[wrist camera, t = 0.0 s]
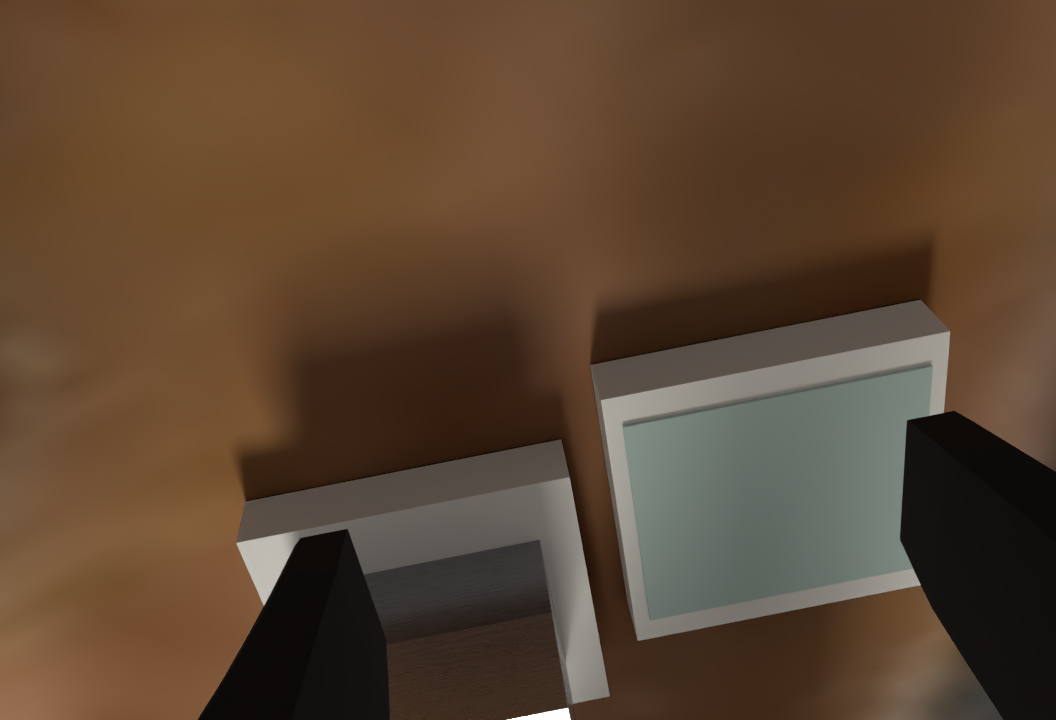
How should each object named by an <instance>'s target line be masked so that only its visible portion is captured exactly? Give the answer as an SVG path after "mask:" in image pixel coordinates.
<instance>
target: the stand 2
mask: <svg viewBox="0 0 1056 720" xmlns="http://www.w3.org/2000/svg"><path fill="white" fill-rule="evenodd" d="M949 342H950V330H949V329H948V328H947V327H946V326H945V325H944V324H943V323H942V322H941V321H940V320H939V319H938V318H937V317H936V316H935V314H934V313H933V312H932V311H931V310H930V309H929V308H928V307H927V306H926V305H925V304H924V303H923V302H922V301H921V300H917V301H912V302H907V303H902V304H897V305H892V306H887V307H882V308H876V309H871V310H866V311H861V312H856V313H851V314H846V315H841V316H836V317H831V318H826V319H821V320H816V321H811V322H806V323H800V324H795V325H790V326H785V327H780V328H775V329H770V330H765V331H760V332H755V333H750V334H745V335H740V336H735V337H730V338H724V339H719V340H714V341H709V342H704V343H699V344H694V345H689V346H684V347H679V348H674V349H669V350H664V351H659V352H654V353H648V354H643V355H638V356H633V357H628V358H623V359H618V360H613V361H608V362H603V363H598V364H593V365H590V366H591V373H592V379H593V386H594V392H595V398H596V405H597V411H598V418H599V424H600V430H601V437H602V443H603V450H604V456H605V462H606V469H607V475H608V482H609V488H610V494H611V501H612V507H613V514H614V520H615V526H616V533H617V539H618V546H619V552H620V558H621V565H622V571H623V578H624V584H625V590H626V597H627V602H628V606H629V610H630V614H631V617H632V621H633V625H634V629H635V633H636V637H637V641H641V640H646V639H651V638H656V637H661V636H666V635H671V634H676V633H681V632H686V631H691V630H696V629H701V628H706V627H711V626H717V625H722V624H727V623H732V622H737V621H742V620H747V619H752V618H757V617H762V616H767V615H772V614H777V613H782V612H787V611H792V610H798V609H803V608H808V607H813V606H818V605H823V604H828V603H833V602H838V601H843V600H848V599H853V598H858V597H863V596H868V595H873V594H879V593H884V592H889V591H894V590H899V589H904V588H909V587H914V586H919V585H921V584H920V582H919V580H918V578H917V576H916V574H915V572H914V569H913V567H912V565H911V563H910V561H909V558H908V556H907V554H906V552H905V550H904V547H903V545H902V543H901V541H900V527H901V510H902V493H903V477H904V460H905V443H906V427H907V420H910V419H915V418H920V417H926V416H931V415H936V414H941V413H944V404H945V392H946V379H947V367H948V354H949Z"/></svg>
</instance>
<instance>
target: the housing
mask: <svg viewBox="0 0 1056 720" xmlns="http://www.w3.org/2000/svg"><path fill="white" fill-rule="evenodd" d="M364 577H365V580H366V582H367V585H368V588H369V591H370V594H371V597H372V600H373V603H374V605H375V608H376V611H377V614H378V617H379V620H380V623H381V625H382V628H383V631H384V634H385V637H386V643H387V661H388V679H389V703H390V720H576V717H575V712H574V706H573V700H572V694H571V689H570V683H569V677H568V671H567V666H566V660H565V656H564V651H563V646H562V642H561V637H560V632H559V628H558V623H557V618H556V614H555V609H554V604H553V600H552V595H551V590H550V586H549V581H548V576H547V572H546V567H545V562H544V558H543V553H542V548H541V544H540V540H535V541H530V542H525V543H520V544H515V545H510V546H505V547H500V548H495V549H490V550H485V551H480V552H475V553H470V554H465V555H460V556H454V557H449V558H444V559H439V560H434V561H429V562H424V563H419V564H414V565H409V566H404V567H399V568H394V569H389V570H384V571H379V572H373V573H368V574H364Z"/></svg>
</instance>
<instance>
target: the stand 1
mask: <svg viewBox="0 0 1056 720" xmlns="http://www.w3.org/2000/svg"><path fill="white" fill-rule="evenodd" d="M344 529H348V531H349V534H350V537H351V540H352V542H353V545H354V548H355V551H356V554H357V557H358V560H359V562H360V565H361V568H362V571H363V574H368V573H373V572H379V571H384V570H389V569H394V568H399V567H404V566H409V565H414V564H419V563H424V562H429V561H434V560H439V559H444V558H449V557H454V556H460V555H465V554H470V553H475V552H480V551H485V550H490V549H495V548H500V547H505V546H510V545H515V544H520V543H525V542H530V541H535V540H540V544H541V548H542V553H543V558H544V562H545V567H546V572H547V576H548V581H549V586H550V590H551V595H552V600H553V604H554V609H555V614H556V618H557V623H558V628H559V632H560V637H561V642H562V646H563V651H564V656H565V660H566V666H567V671H568V677H569V683H570V689H571V694H572V700H573V704H574V703H579V702H584V701H589V700H594V699H600V698H605V697H610V694H609V689H608V683H607V678H606V673H605V667H604V662H603V656H602V651H601V645H600V640H599V634H598V629H597V623H596V618H595V613H594V607H593V602H592V596H591V591H590V585H589V580H588V574H587V569H586V564H585V558H584V553H583V547H582V542H581V536H580V531H579V525H578V520H577V514H576V509H575V504H574V498H573V493H572V487H571V482H570V476H569V472H568V468H567V463H566V459H565V454H564V450H563V445H562V441H561V439H560V440H555V441H550V442H545V443H540V444H535V445H530V446H525V447H520V448H515V449H510V450H505V451H500V452H494V453H489V454H484V455H479V456H474V457H469V458H464V459H459V460H454V461H449V462H444V463H439V464H434V465H429V466H424V467H418V468H413V469H408V470H403V471H398V472H393V473H388V474H383V475H378V476H373V477H368V478H363V479H358V480H353V481H348V482H343V483H337V484H332V485H327V486H322V487H317V488H312V489H307V490H302V491H297V492H292V493H287V494H282V495H277V496H272V497H267V498H261V499H256V500H251V501H246V502H245V505H244V509H243V514H242V518H241V523H240V528H239V532H238V537H237V541H236V544H237V546H238V548H239V551H240V553H241V555H242V557H243V560H244V562H245V564H246V566H247V569H248V571H249V573H250V575H251V578H252V580H253V582H254V584H255V587H256V589H257V591H258V593H259V596H260V598H261V600H262V602H263V605H265V603H266V601H267V599H268V597H269V595H270V594H271V592H272V590H273V588H274V586H275V584H276V582H277V580H278V578H279V576H280V574H281V572H282V570H283V568H284V566H285V564H286V562H287V560H288V558H289V556H290V554H291V552H292V550H293V548H294V546H295V545H296V543H297V542H298V541H299V539H300V538H303V537H308V536H313V535H318V534H323V533H328V532H334V531H339V530H344Z"/></svg>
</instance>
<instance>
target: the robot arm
mask: <svg viewBox="0 0 1056 720" xmlns="http://www.w3.org/2000/svg"><path fill="white" fill-rule="evenodd" d="M900 541H901V543H902V545H903V547H904V550H905V552H906V554H907V556H908V558H909V561H910V563H911V565H912V567H913V569H914V572H915V574H916V576H917V578H918V580H919V582H920V584H921V586H922V588H923V590H924V592H925V594H926V596H927V598H928V600H929V603H930V605H931V607H932V609H933V610H934V612H935V613H936V615H937V617H938V618H939V620H940V622H941V623H942V625H943V626H944V628H945V630H946V631H947V633H948V634H949V636H950V637H951V639H952V641H953V642H954V644H955V645H956V647H957V648H958V650H959V652H960V653H961V655H962V656H963V658H964V659H965V661H966V663H967V664H968V666H969V667H970V669H971V670H972V672H973V673H974V675H975V676H976V678H977V679H978V681H979V683H980V684H981V686H982V687H983V689H984V690H985V692H986V693H987V695H988V696H989V698H990V700H991V701H992V703H993V704H994V706H995V707H996V709H997V710H998V712H999V713H1000V715H1001V717H1002V718H1003V720H1056V472H1055V471H1053V470H1052V469H1050V468H1048V467H1047V466H1045V465H1043V464H1042V463H1040V462H1039V461H1037V460H1035V459H1034V458H1032V457H1030V456H1029V455H1027V454H1025V453H1024V452H1022V451H1020V450H1019V449H1017V448H1016V447H1014V446H1012V445H1011V444H1009V443H1007V442H1006V441H1004V440H1002V439H1001V438H999V437H998V436H996V435H994V434H993V433H991V432H989V431H988V430H986V429H984V428H983V427H981V426H979V425H978V424H976V423H974V422H973V421H971V420H969V419H968V418H966V417H964V416H962V415H961V414H959V413H957V412H955V411H951V412H946V413H941V414H936V415H931V416H926V417H920V418H915V419H910V420H907V427H906V443H905V460H904V477H903V493H902V510H901V527H900ZM198 720H390V703H389V679H388V661H387V643H386V637H385V634H384V631H383V628H382V625H381V623H380V620H379V617H378V614H377V611H376V608H375V605H374V603H373V600H372V597H371V594H370V591H369V588H368V585H367V582H366V580H365V577H364V574H363V571H362V568H361V565H360V562H359V560H358V557H357V554H356V551H355V548H354V545H353V542H352V540H351V537H350V534H349V531H348V529H344V530H339V531H334V532H328V533H323V534H318V535H313V536H308V537H303V538H300V539H299V541H298V542H297V543H296V545H295V546H294V548H293V550H292V552H291V554H290V556H289V558H288V560H287V562H286V564H285V566H284V568H283V570H282V572H281V574H280V576H279V578H278V580H277V582H276V584H275V586H274V588H273V590H272V592H271V594H270V595H269V597H268V599H267V601H266V603H265V605H264V607H263V609H262V611H261V613H260V614H259V616H258V618H257V620H256V622H255V624H254V626H253V627H252V629H251V631H250V633H249V635H248V636H247V638H246V640H245V642H244V643H243V645H242V647H241V649H240V650H239V652H238V654H237V656H236V657H235V659H234V661H233V663H232V664H231V666H230V668H229V670H228V672H227V673H226V675H225V677H224V678H223V680H222V682H221V683H220V685H219V687H218V688H217V690H216V691H215V693H214V695H213V696H212V698H211V699H210V701H209V702H208V704H207V706H206V707H205V709H204V710H203V712H202V713H201V715H200V717H199V718H198Z"/></svg>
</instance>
